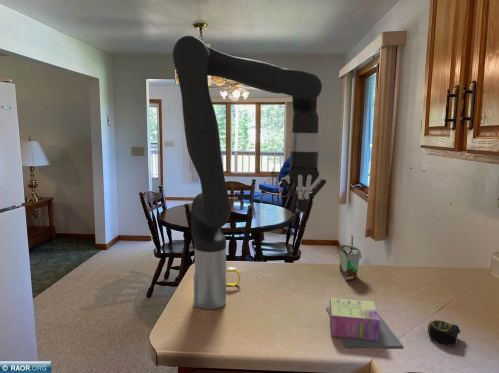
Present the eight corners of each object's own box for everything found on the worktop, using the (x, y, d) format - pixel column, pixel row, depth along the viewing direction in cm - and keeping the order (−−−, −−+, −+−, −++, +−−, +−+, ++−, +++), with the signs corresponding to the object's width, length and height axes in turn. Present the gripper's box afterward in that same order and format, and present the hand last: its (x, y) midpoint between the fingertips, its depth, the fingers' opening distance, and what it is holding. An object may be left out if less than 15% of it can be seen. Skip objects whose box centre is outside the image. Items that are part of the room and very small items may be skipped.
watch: (221, 286, 124) (222, 269, 123) (222, 283, 127) (222, 266, 126) (240, 287, 124) (240, 269, 123) (240, 283, 127) (240, 266, 126)
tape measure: (455, 350, 89) (456, 336, 89) (424, 340, 93) (425, 326, 93) (459, 338, 95) (461, 324, 94) (430, 329, 99) (431, 316, 98)
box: (330, 336, 94) (379, 341, 92) (331, 315, 93) (380, 319, 91) (328, 317, 104) (373, 320, 102) (329, 297, 103) (374, 300, 101)
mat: (345, 347, 90) (345, 346, 90) (325, 308, 109) (326, 307, 109) (403, 347, 90) (403, 345, 90) (373, 308, 110) (373, 307, 110)
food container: (364, 283, 128) (366, 255, 127) (346, 283, 129) (348, 255, 127) (354, 270, 141) (356, 244, 139) (338, 269, 141) (339, 244, 139)
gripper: (281, 150, 98) (280, 214, 101) (331, 150, 99) (328, 214, 101) (278, 148, 106) (277, 208, 108) (325, 149, 106) (322, 209, 109)
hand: (302, 211), depth 105 cm, fingers closed
